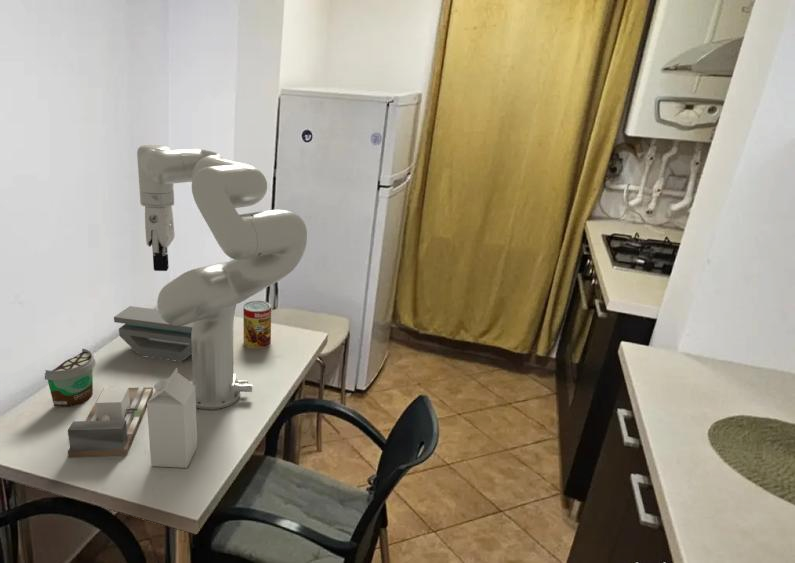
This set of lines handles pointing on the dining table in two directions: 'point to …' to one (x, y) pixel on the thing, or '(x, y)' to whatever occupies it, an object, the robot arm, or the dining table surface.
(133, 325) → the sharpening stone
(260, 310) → the canned food
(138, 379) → the dining table surface
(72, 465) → the dining table surface
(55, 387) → the food container
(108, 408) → the gauge carriage
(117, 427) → the gauge board
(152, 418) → the milk carton
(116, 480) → the dining table surface
